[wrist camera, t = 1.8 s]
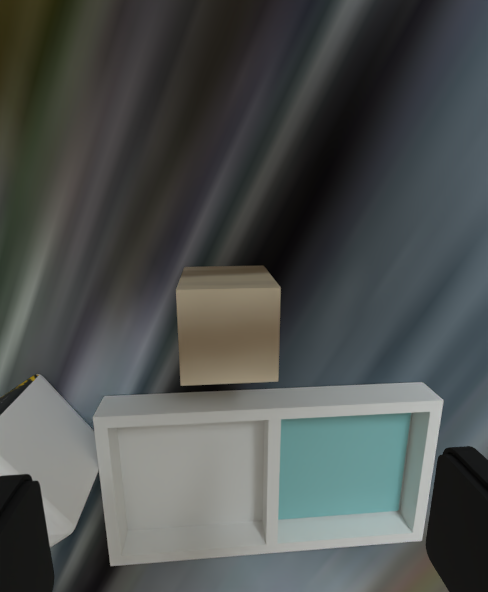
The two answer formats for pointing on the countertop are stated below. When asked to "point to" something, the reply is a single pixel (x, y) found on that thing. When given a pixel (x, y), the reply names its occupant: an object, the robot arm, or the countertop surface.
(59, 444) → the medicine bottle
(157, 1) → the countertop surface
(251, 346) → the wooden block
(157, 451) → the organiser tray
